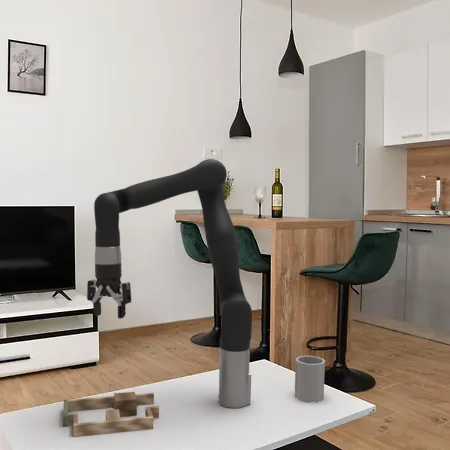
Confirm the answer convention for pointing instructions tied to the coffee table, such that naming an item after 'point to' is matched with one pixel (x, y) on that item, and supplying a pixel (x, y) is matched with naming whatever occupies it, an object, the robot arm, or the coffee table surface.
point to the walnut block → (126, 404)
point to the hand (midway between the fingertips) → (109, 316)
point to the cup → (309, 378)
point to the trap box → (108, 416)
